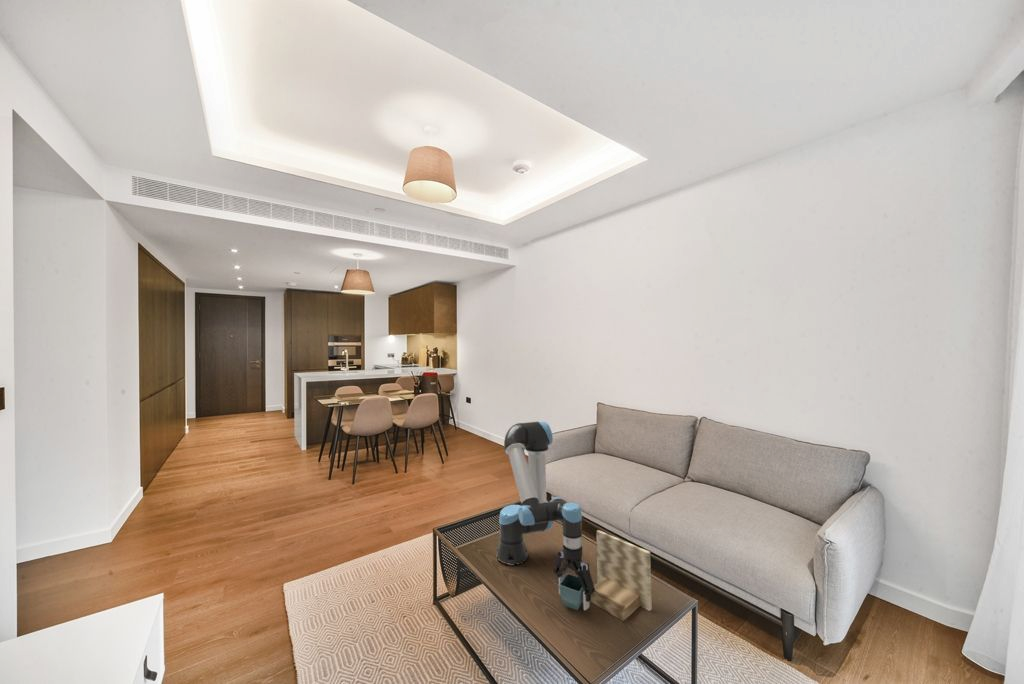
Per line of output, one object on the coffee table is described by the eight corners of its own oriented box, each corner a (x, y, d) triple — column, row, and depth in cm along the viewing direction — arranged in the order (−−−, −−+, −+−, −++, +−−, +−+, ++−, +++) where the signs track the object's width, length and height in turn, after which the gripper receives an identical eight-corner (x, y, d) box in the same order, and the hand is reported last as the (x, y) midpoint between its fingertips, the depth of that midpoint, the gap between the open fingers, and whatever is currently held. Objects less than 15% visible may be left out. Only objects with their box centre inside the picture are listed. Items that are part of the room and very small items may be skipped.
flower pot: (580, 616, 139) (579, 592, 139) (558, 607, 144) (558, 584, 144) (588, 602, 147) (587, 579, 147) (567, 594, 151) (567, 572, 152)
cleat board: (580, 594, 151) (578, 540, 152) (599, 580, 160) (598, 529, 161) (633, 627, 133) (631, 566, 134) (651, 609, 142) (650, 551, 143)
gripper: (544, 537, 152) (545, 590, 152) (591, 561, 134) (593, 621, 134) (556, 530, 157) (557, 582, 157) (603, 553, 139) (605, 611, 139)
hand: (573, 600), depth 145 cm, fingers open, 12 cm apart
